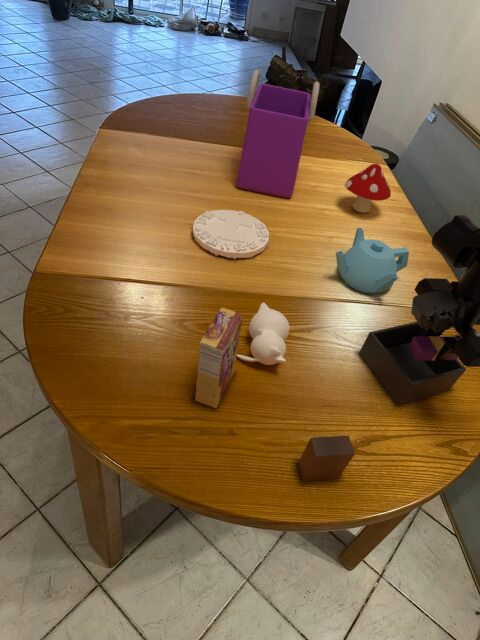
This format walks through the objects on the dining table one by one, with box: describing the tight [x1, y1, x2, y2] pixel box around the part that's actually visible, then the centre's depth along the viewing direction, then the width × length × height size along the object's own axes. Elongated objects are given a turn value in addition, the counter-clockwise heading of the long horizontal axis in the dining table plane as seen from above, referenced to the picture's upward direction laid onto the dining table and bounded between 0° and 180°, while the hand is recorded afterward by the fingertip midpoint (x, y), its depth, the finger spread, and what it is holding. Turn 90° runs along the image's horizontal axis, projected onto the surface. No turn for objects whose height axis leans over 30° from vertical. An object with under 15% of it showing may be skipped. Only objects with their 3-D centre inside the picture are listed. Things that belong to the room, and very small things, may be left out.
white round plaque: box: [191, 209, 270, 260], centre depth 109 cm, size 20×20×3 cm
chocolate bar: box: [409, 335, 459, 361], centre depth 76 cm, size 8×4×2 cm, turn 98°
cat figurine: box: [236, 302, 291, 366], centre depth 81 cm, size 9×11×12 cm
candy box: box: [194, 307, 244, 409], centre depth 70 cm, size 9×4×15 cm, turn 160°
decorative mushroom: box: [344, 163, 392, 214], centre depth 125 cm, size 14×14×15 cm
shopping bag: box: [236, 69, 321, 199], centre depth 128 cm, size 28×22×30 cm
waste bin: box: [358, 321, 467, 407], centre depth 82 cm, size 13×13×6 cm
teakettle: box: [335, 227, 410, 295], centre depth 101 cm, size 15×15×11 cm
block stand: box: [297, 435, 356, 482], centre depth 64 cm, size 6×3×8 cm, turn 98°
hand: (432, 352), depth 76 cm, fingers closed on chocolate bar, 4 cm apart
